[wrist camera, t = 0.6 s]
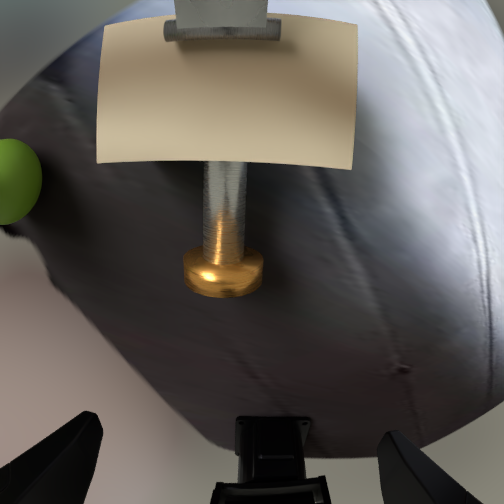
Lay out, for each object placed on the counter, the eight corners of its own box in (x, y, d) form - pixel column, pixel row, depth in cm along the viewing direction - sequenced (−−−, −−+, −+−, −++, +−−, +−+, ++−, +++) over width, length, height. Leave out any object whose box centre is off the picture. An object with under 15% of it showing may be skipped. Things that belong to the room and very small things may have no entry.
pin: (261, 265, 18) (262, 299, 14) (192, 261, 18) (176, 294, 14) (273, 31, 13) (278, 2, 10) (198, 30, 13) (182, 3, 9)
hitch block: (320, 158, 17) (351, 169, 11) (145, 152, 17) (96, 163, 11) (325, 57, 15) (357, 24, 9) (149, 55, 14) (104, 25, 9)
